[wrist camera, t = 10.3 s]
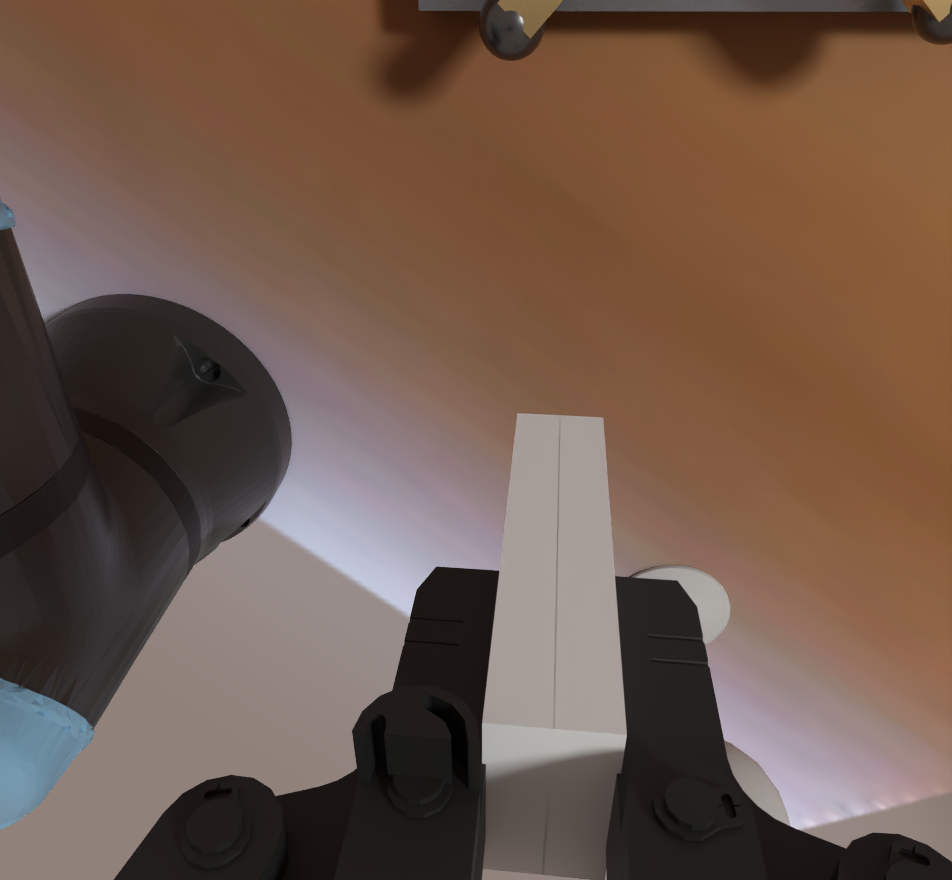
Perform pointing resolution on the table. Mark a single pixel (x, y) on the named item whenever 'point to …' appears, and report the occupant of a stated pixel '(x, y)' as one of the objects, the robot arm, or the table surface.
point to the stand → (692, 5)
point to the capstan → (531, 3)
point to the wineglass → (713, 621)
